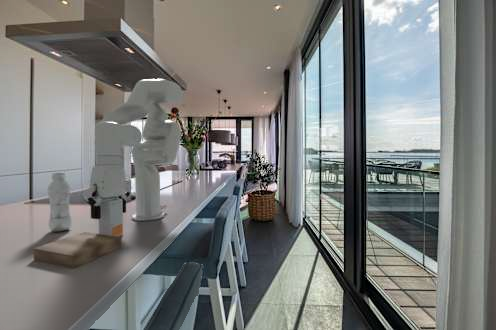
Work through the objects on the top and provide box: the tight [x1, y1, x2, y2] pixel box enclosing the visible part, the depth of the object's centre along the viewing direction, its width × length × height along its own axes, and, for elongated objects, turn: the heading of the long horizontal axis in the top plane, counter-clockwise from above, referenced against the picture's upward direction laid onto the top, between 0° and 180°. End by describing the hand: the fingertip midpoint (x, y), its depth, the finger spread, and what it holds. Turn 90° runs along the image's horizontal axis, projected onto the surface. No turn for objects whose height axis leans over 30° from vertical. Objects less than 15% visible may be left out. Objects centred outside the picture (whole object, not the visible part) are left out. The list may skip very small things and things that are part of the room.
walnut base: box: [33, 231, 122, 269], centre depth 69 cm, size 14×14×3 cm
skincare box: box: [98, 198, 124, 237], centre depth 82 cm, size 6×4×12 cm
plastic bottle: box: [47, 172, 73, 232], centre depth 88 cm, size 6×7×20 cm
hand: (109, 215), depth 81 cm, fingers open, 9 cm apart
